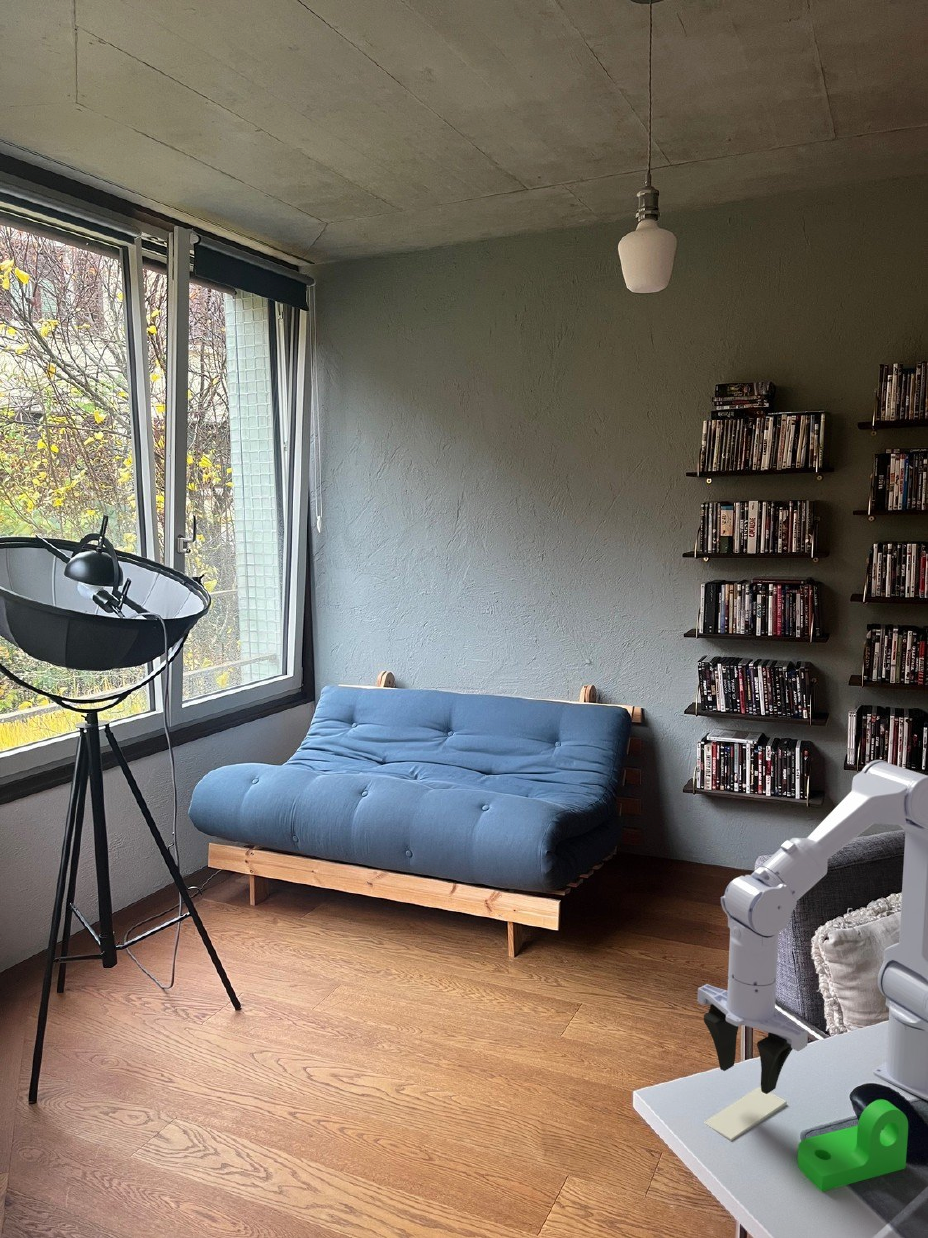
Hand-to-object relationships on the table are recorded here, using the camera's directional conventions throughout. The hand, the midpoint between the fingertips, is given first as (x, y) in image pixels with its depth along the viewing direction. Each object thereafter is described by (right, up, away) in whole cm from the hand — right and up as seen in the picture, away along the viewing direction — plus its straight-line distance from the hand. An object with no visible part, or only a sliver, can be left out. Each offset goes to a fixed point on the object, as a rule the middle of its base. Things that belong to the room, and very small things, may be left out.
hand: (747, 1078), depth 118 cm
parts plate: (0, -5, +1) cm, 5 cm away
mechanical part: (+9, -7, -8) cm, 14 cm away
